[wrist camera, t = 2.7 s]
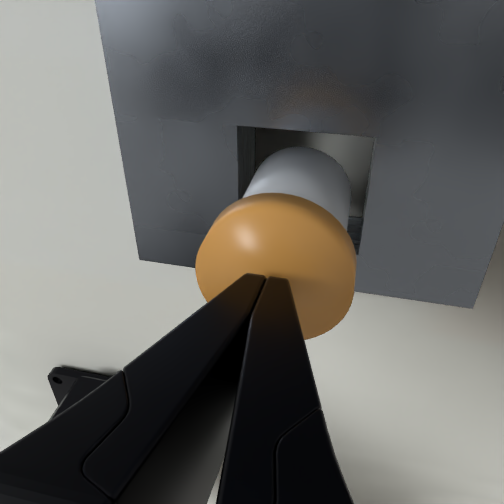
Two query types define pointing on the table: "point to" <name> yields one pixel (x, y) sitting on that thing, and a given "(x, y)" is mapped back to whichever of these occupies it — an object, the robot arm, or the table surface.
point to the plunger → (288, 236)
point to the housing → (318, 122)
